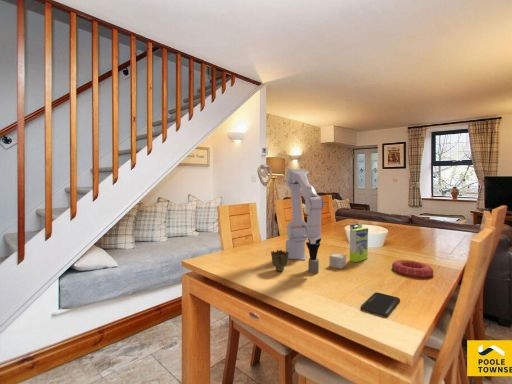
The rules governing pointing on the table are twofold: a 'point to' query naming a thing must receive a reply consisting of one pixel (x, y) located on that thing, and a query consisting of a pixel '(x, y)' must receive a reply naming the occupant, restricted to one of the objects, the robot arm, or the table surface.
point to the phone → (380, 304)
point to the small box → (337, 261)
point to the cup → (279, 259)
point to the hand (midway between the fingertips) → (313, 257)
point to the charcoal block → (313, 266)
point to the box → (358, 242)
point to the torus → (412, 268)
